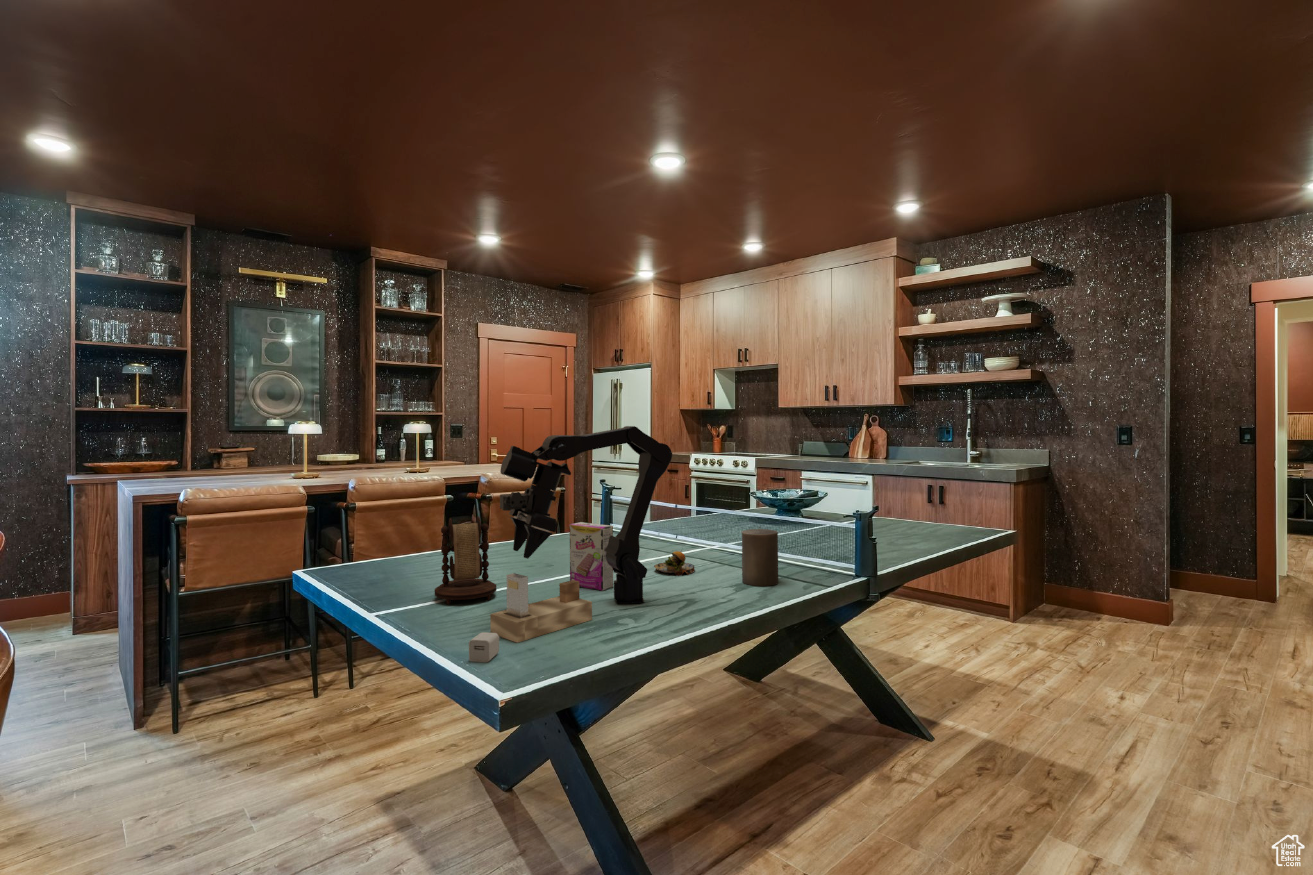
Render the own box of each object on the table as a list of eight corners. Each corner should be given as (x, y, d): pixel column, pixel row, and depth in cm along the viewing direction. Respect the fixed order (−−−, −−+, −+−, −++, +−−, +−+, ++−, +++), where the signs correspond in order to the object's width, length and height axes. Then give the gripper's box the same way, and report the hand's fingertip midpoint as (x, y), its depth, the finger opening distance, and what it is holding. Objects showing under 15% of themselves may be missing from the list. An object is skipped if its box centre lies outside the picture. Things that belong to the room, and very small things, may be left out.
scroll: (438, 609, 157) (436, 523, 156) (431, 594, 170) (430, 515, 170) (501, 601, 163) (500, 519, 162) (490, 587, 176) (489, 511, 176)
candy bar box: (568, 586, 178) (568, 524, 177) (580, 582, 182) (580, 521, 181) (602, 591, 172) (602, 527, 171) (614, 587, 176) (613, 524, 175)
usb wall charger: (469, 661, 123) (468, 639, 123) (484, 648, 130) (484, 627, 129) (489, 662, 122) (489, 640, 122) (504, 649, 129) (504, 628, 129)
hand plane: (565, 612, 153) (564, 577, 153) (592, 619, 147) (591, 583, 147) (490, 633, 139) (490, 594, 138) (517, 642, 133) (516, 602, 132)
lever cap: (515, 630, 141) (515, 573, 140) (529, 634, 138) (528, 576, 137) (506, 632, 139) (505, 575, 138) (519, 637, 136) (519, 578, 135)
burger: (654, 567, 200) (654, 542, 200) (694, 567, 200) (694, 542, 200) (653, 576, 188) (653, 550, 188) (695, 577, 188) (695, 550, 188)
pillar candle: (781, 586, 176) (781, 529, 175) (743, 586, 176) (743, 529, 175) (775, 577, 185) (775, 523, 185) (739, 578, 185) (739, 523, 185)
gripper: (500, 474, 158) (477, 538, 156) (520, 480, 141) (495, 552, 139) (544, 488, 162) (522, 550, 161) (568, 496, 146) (544, 565, 144)
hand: (520, 554), depth 151 cm, fingers open, 9 cm apart
